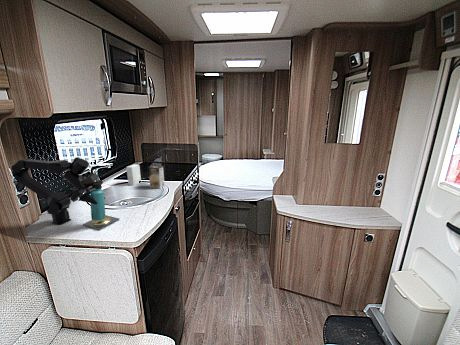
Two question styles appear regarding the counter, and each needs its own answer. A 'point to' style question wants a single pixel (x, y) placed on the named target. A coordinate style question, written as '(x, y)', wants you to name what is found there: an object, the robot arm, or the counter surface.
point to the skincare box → (133, 174)
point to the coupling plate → (101, 223)
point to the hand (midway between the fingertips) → (100, 201)
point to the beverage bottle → (99, 208)
